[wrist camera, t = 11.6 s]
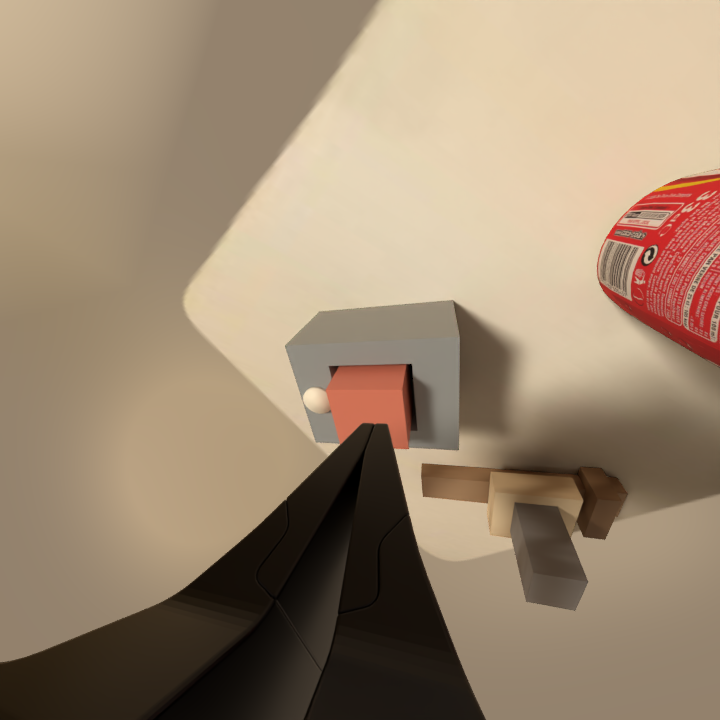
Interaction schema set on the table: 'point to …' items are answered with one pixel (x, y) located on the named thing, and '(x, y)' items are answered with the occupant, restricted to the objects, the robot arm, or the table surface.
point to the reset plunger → (372, 399)
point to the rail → (473, 483)
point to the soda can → (670, 262)
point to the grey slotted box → (385, 346)
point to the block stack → (540, 534)
